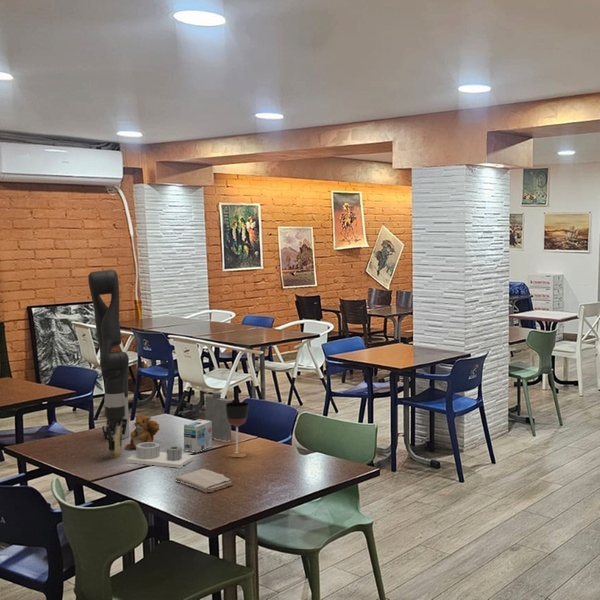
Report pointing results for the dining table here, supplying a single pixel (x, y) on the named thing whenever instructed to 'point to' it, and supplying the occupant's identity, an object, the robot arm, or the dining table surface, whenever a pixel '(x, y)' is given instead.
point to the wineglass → (237, 415)
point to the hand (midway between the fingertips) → (115, 448)
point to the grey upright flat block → (218, 416)
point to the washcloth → (204, 479)
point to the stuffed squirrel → (143, 431)
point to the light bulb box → (197, 435)
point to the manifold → (159, 455)
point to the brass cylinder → (116, 445)
